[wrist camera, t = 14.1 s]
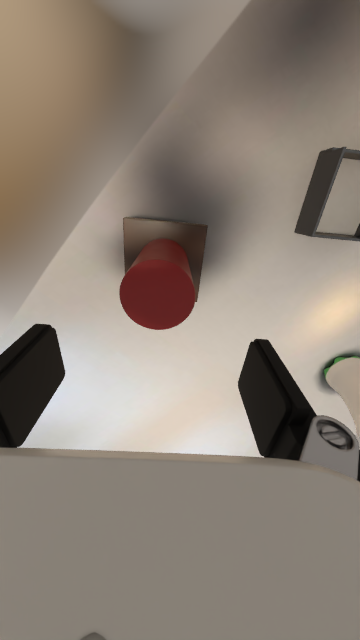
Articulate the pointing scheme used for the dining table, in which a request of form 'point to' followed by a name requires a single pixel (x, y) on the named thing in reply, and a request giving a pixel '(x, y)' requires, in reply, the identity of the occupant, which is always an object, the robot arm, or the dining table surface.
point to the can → (158, 286)
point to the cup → (347, 384)
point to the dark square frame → (323, 193)
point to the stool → (182, 233)
